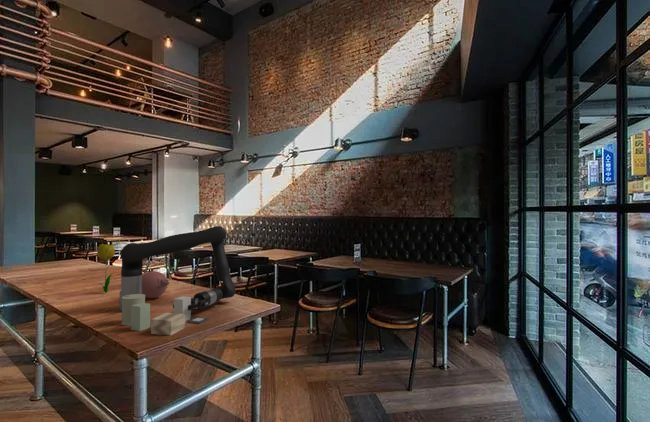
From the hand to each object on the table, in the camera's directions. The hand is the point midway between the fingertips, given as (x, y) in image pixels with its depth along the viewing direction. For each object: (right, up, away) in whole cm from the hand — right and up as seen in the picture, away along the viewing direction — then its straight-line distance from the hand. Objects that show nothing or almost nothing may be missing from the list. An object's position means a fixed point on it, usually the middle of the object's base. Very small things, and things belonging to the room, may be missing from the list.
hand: (180, 307), depth 150 cm
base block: (+1, -6, -13) cm, 15 cm away
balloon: (-32, -7, +39) cm, 51 cm away
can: (-20, -6, -3) cm, 21 cm away
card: (+8, -6, -1) cm, 10 cm away
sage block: (-12, -6, -11) cm, 17 cm away
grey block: (0, -6, +1) cm, 6 cm away
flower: (-68, -7, +51) cm, 85 cm away
